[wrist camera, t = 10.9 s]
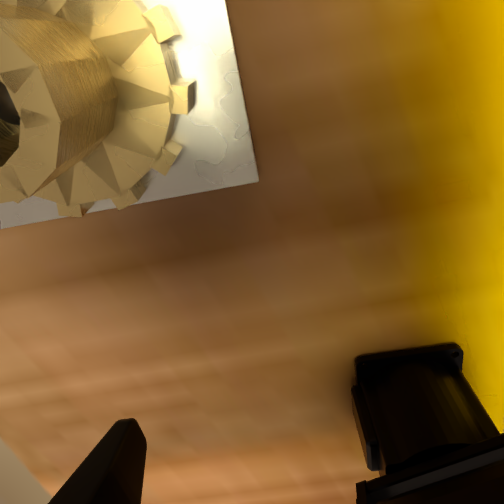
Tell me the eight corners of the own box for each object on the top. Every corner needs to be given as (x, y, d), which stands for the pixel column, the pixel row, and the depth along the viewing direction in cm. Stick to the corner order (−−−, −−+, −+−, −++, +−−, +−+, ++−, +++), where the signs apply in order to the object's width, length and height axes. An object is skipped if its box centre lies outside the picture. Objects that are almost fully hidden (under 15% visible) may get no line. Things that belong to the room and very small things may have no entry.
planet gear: (145, -111, 13) (59, -228, 7) (217, 181, 18) (200, 251, 12) (-129, -39, 14) (-399, -91, 8) (10, 219, 19) (-96, 300, 13)
